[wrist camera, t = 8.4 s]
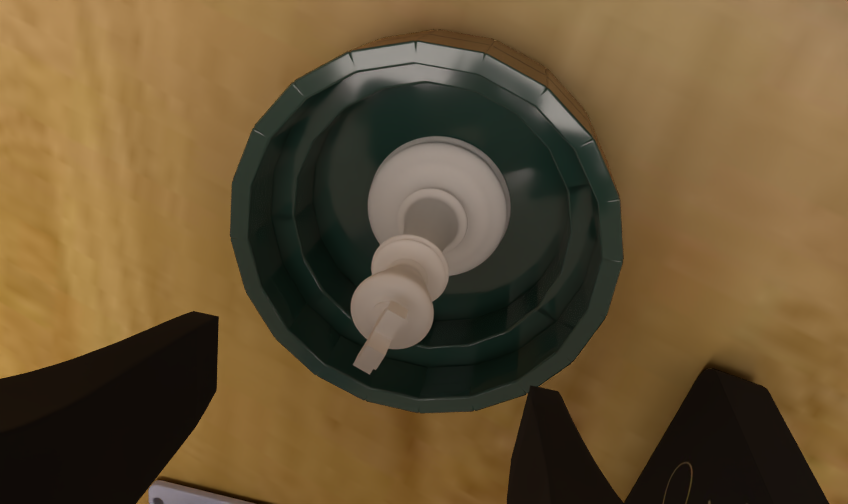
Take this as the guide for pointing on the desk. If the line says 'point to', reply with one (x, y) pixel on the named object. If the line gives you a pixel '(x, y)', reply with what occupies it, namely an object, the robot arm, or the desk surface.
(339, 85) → the bowl
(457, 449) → the desk surface
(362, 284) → the chess piece
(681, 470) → the nameplate
